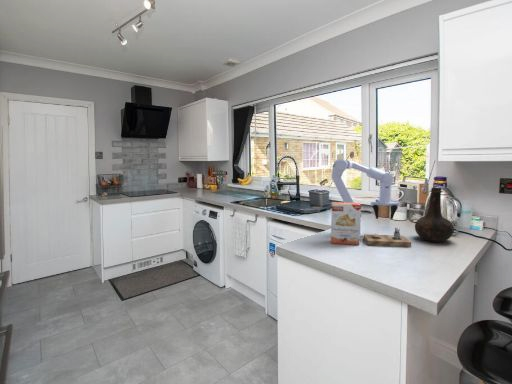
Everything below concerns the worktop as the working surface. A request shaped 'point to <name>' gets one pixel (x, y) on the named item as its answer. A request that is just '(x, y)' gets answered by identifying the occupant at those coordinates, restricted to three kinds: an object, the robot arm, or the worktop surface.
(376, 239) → the block
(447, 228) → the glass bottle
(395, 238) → the drill bit
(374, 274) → the worktop surface
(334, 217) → the cracker box
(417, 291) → the worktop surface
